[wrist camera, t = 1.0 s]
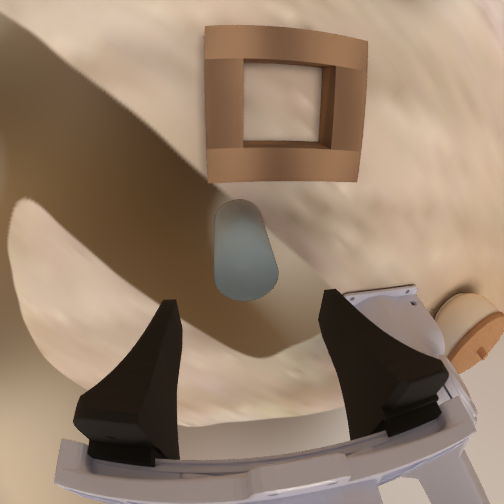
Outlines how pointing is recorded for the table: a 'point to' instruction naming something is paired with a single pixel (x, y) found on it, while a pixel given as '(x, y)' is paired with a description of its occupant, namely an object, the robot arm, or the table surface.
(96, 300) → the table surface
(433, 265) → the table surface
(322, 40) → the socket block
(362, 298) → the robot arm
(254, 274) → the peg
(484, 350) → the lidded jar
